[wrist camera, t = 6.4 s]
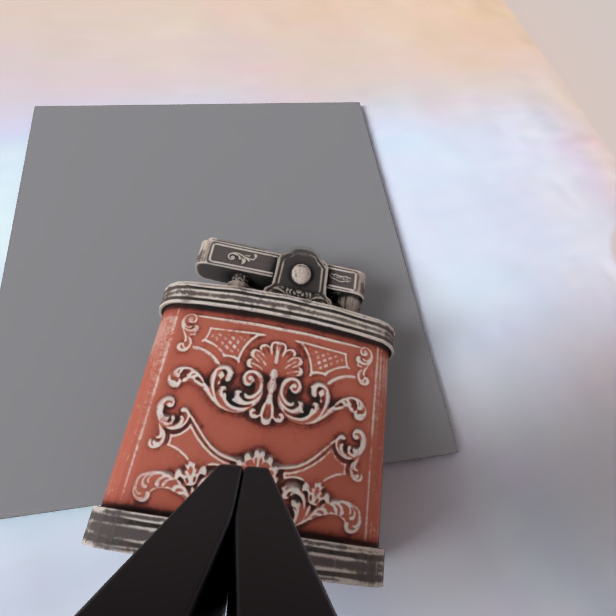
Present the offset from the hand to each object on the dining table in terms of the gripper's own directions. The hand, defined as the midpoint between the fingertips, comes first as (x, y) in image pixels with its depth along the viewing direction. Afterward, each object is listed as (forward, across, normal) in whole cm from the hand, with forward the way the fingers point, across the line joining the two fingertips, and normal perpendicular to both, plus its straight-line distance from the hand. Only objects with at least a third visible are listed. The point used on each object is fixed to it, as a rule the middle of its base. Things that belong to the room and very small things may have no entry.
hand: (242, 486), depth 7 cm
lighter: (+3, 0, +5) cm, 6 cm away
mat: (+12, +3, -1) cm, 12 cm away
